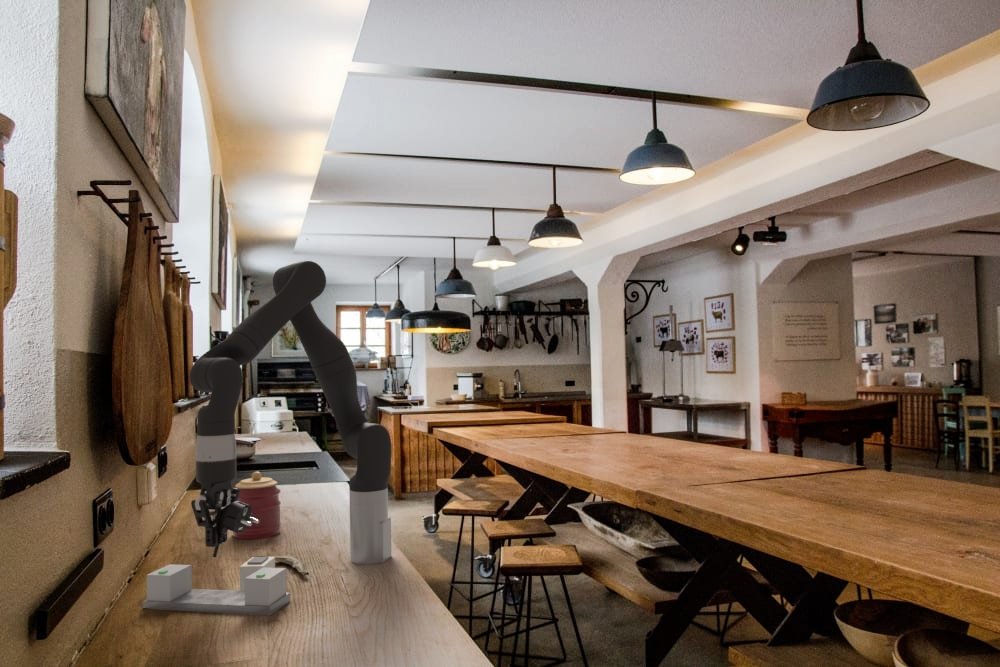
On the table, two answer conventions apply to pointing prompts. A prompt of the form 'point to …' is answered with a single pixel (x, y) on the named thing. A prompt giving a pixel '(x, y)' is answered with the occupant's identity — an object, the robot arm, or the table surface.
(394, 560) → the table surface
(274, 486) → the canister
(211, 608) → the rail base
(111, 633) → the table surface
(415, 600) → the table surface
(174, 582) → the mounted modules
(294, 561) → the jawbone
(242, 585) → the block
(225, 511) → the power plug
